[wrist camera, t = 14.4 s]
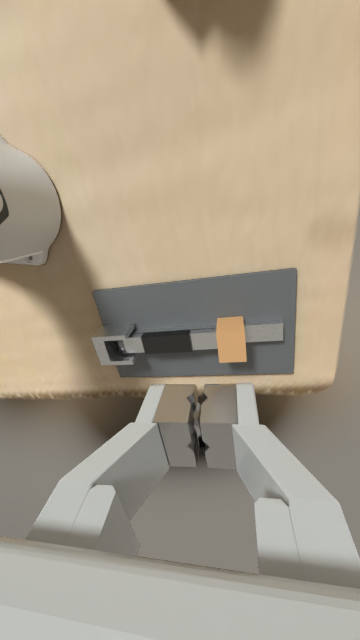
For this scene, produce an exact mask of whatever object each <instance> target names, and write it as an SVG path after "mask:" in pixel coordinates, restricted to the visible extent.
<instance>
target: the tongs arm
mask: <svg viewBox="0 0 360 640" xmlns="http://www.w3.org/2000/svg"><path fill="white" fill-rule="evenodd" d="M117 343H118V346H119V350H120V353H121V354H122V355H124V354H127V353H143V352H145V354H160V353H181V352H192V351H193V350H204V349H218V347H217V338H216V329H201V330H178V331H164V332H149V333H142V334H130V335H129V337H128V338H127V339H126V340H117Z"/></svg>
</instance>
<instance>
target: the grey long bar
mask: <svg viewBox="0 0 360 640" xmlns="http://www.w3.org/2000/svg"><path fill="white" fill-rule="evenodd" d="M216 327H217V323H214V324H200V325H186V326H172V327H158V328H144V329H134V328H135V323H121V324H108V325H103V326H102V327H101V328H100V329H99V330H98V331H97V332H96V333H95V334H94V335H93V336H92V337H91V339H92V342H93V345H94V347H95V350H96V353H97V356H98V358H99V361H100V364H101V366H106V365H133V364H134V363H135V361H136V359H137V357H138V356H139V354H140V353H127V354H124V355H122V354H121V353H120V350H119V346H118V343H117V340H126V339H127V338H128V337H129V335H130V334H142V333H149V332H164V331H178V330H201V329H216ZM244 329H245V341H246V342H264V341H283V321H282V319H271V320H257V321H244Z"/></svg>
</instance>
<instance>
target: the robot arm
mask: <svg viewBox="0 0 360 640" xmlns="http://www.w3.org/2000/svg"><path fill="white" fill-rule="evenodd" d="M60 224H61V209H60V203H59V199H58V195H57V193H56V190H55V188H54V186H53V184H52V182H51V180H50V178H49V177H48V175H47V174H46V172H45V171H44V170H43V169H42V167H41V166H40V165H39V164H38V163H37V162H36V161H35V160H33V159H32V158H31V157H30V156H28V155H27V154H25V153H23V152H22V151H20V150H17V149H15V148H14V147H12V146H10V145H9V144H8V143H7V142H6V141H5V140H4V139H3V138H2V137H1V136H0V263H13V264H25V265H43V264H45V262H46V260H47V256H48V249H49V247H50V245H51V244H52V243H53V241H54V240H55V238H56V236H57V234H58V232H59V229H60ZM31 256H32V258H31ZM203 394H204V403H202V407H201V408H200V404H199V403H198V402H197V399H198V391H197V386H196V385H195V384H166V385H160V384H152V385H151V386H150V387H149V389H148V392H147V394H146V396H145V399H144V401H143V404H142V406H141V409H140V411H139V413H138V416H137V418H136V421H135V423H129V424H128V425H127V426H126V427H124V428H123V429H122V430H121V431H119V432H118V433H117V434H116V435H114V436H113V437H112V438H111V439H110V440H108V441H107V442H106V443H105V444H103V445H102V446H101V447H100V448H98V449H97V450H96V451H95V452H94V453H92V454H91V455H90V456H89V457H87V458H86V459H85V460H84V461H82V462H81V463H80V464H79V465H78V466H76V467H75V468H74V469H73V470H71V471H70V472H69V473H68V474H66V475H65V476H64V477H63V478H62V479H60V481H59V482H58V484H57V486H56V488H55V490H54V491H53V493H52V494H51V496H50V498H49V499H48V501H47V503H46V504H45V506H44V508H43V510H42V512H41V513H40V515H39V516H38V518H37V520H36V522H35V524H34V525H33V526H32V528H31V530H30V532H29V533H28V535H27V537H26V538H25V540H24V539H17V538H11V537H4V536H0V640H360V559H359V556H358V553H357V550H356V548H355V545H354V543H353V540H352V537H351V534H350V531H349V529H348V526H347V523H346V521H345V518H344V515H343V512H342V509H341V507H340V504H339V502H338V501H337V500H336V499H335V498H334V497H333V496H332V495H331V494H330V493H329V492H328V491H327V490H326V488H325V487H324V486H323V485H322V484H321V483H320V482H319V481H318V480H317V479H316V478H315V477H314V476H313V475H312V474H311V473H310V472H309V471H308V470H307V469H306V468H305V467H304V466H303V464H302V463H301V462H300V461H299V460H298V459H297V458H296V457H295V456H294V455H293V454H292V453H291V452H290V451H289V450H288V449H287V448H286V447H285V446H284V445H283V444H282V443H281V442H280V440H278V438H277V437H276V436H275V435H274V434H273V433H272V432H271V431H270V430H269V429H268V428H267V427H266V426H265V425H259V420H258V413H257V405H256V398H255V391H254V385H253V383H236V384H205V385H204V390H203ZM201 433H202V439H203V441H204V442H205V443H206V444H205V455H206V461H207V466H208V468H218V469H229V470H237V472H238V474H239V476H240V477H241V479H242V481H243V483H244V484H245V486H246V488H247V490H248V491H249V493H250V495H251V496H252V498H253V500H254V501H255V504H254V507H255V522H256V536H257V537H256V538H257V552H258V553H257V554H258V568H259V574H255V573H248V572H242V571H234V570H228V569H221V568H215V567H208V566H201V565H194V564H187V563H180V562H174V561H166V560H160V559H153V558H147V557H140V556H138V552H139V548H140V545H139V542H138V540H137V538H136V536H135V533H134V531H133V529H132V527H131V524H130V522H129V521H130V520H131V518H132V517H133V516H134V514H135V513H136V512H137V511H138V509H139V508H140V506H141V505H142V504H143V503H144V501H145V500H146V499H147V497H148V496H149V495H150V493H151V492H152V491H153V489H154V488H155V487H156V485H157V484H158V483H159V481H160V480H161V479H162V477H163V476H164V475H165V473H166V472H167V471H168V469H169V466H179V467H180V466H181V467H197V462H198V453H199V442H198V437H199V435H200V434H201Z"/></svg>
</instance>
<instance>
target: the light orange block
mask: <svg viewBox="0 0 360 640" xmlns="http://www.w3.org/2000/svg"><path fill="white" fill-rule="evenodd" d="M216 338H217V347H218V355H219V363H228V362H247V357H246V341H245V329H244V321H243V316H237V317H224V318H217V327H216Z"/></svg>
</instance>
